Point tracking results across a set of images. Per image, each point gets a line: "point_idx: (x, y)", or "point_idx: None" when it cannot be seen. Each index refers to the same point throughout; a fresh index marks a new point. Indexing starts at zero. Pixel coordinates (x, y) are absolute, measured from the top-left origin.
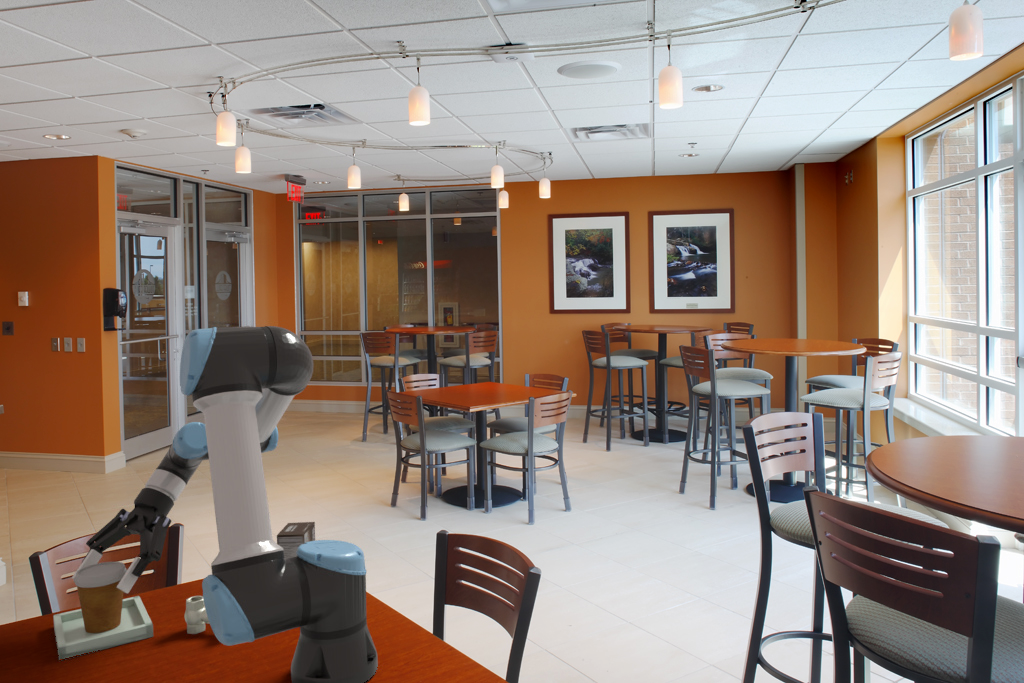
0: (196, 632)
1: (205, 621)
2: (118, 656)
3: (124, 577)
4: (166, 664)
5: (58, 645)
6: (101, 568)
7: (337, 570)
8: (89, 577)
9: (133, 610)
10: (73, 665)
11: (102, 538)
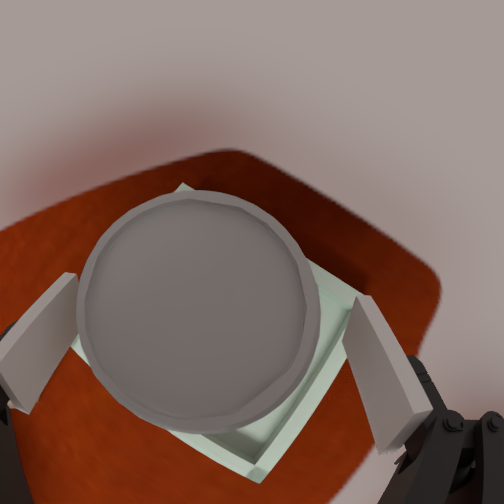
0: None
1: None
2: (86, 249)
3: (45, 295)
4: (7, 253)
5: (193, 189)
6: (218, 334)
7: None
8: (152, 201)
9: (223, 434)
10: (144, 196)
11: (437, 490)
